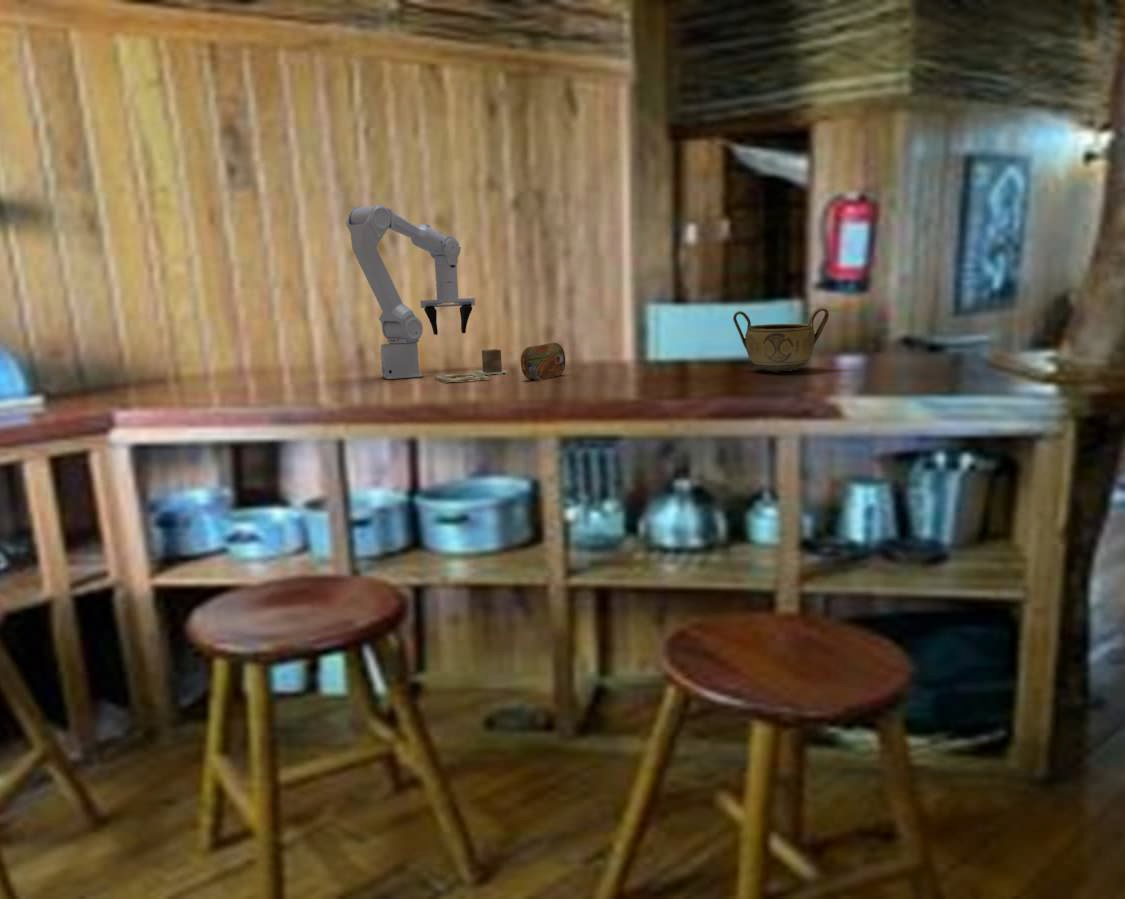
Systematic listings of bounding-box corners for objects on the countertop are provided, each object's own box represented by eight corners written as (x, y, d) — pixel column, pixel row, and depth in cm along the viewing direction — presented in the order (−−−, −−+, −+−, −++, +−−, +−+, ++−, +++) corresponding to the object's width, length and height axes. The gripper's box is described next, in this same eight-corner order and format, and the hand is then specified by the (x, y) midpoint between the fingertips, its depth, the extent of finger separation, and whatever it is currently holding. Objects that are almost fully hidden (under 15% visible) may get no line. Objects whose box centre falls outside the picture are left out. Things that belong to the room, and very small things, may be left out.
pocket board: (445, 383, 237) (445, 380, 237) (435, 378, 249) (435, 375, 248) (489, 380, 241) (489, 377, 241) (477, 375, 252) (477, 372, 252)
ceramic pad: (482, 375, 251) (482, 373, 251) (475, 373, 258) (475, 371, 258) (508, 373, 253) (508, 371, 253) (501, 371, 260) (501, 369, 260)
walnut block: (486, 372, 253) (485, 351, 252) (482, 371, 256) (481, 350, 255) (501, 371, 254) (500, 350, 253) (497, 370, 258) (496, 349, 257)
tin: (529, 382, 235) (527, 346, 234) (519, 381, 237) (517, 346, 236) (567, 375, 247) (565, 341, 245) (557, 374, 249) (555, 341, 247)
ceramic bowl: (825, 366, 244) (825, 305, 241) (830, 374, 228) (831, 309, 225) (733, 368, 248) (733, 308, 245) (732, 376, 232) (732, 311, 229)
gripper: (422, 284, 256) (425, 336, 259) (476, 281, 261) (479, 333, 264) (417, 283, 263) (420, 334, 266) (470, 281, 268) (473, 331, 270)
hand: (449, 333), depth 265 cm, fingers open, 7 cm apart
